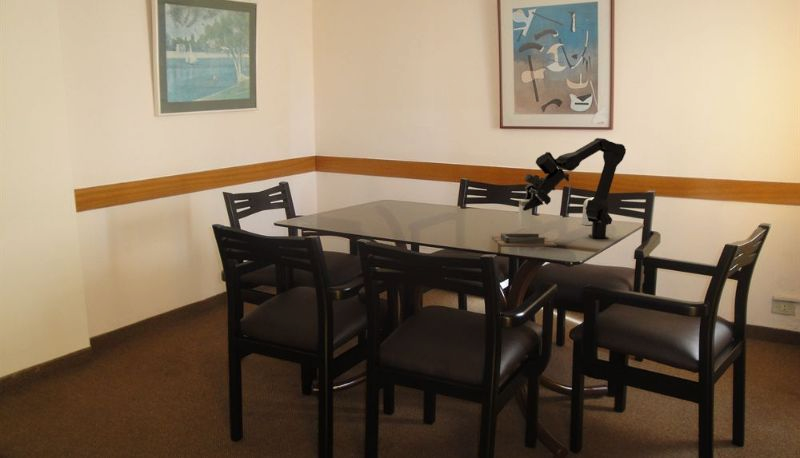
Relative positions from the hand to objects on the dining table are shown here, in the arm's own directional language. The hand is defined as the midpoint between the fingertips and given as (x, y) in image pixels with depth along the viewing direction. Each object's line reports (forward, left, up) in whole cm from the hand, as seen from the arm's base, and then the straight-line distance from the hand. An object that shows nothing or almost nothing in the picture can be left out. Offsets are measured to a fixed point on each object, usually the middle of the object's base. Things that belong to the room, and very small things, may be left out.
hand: (522, 208), depth 279 cm
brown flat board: (0, -1, -13) cm, 13 cm away
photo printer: (+39, -43, -14) cm, 60 cm away
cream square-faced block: (0, -1, -8) cm, 8 cm away
